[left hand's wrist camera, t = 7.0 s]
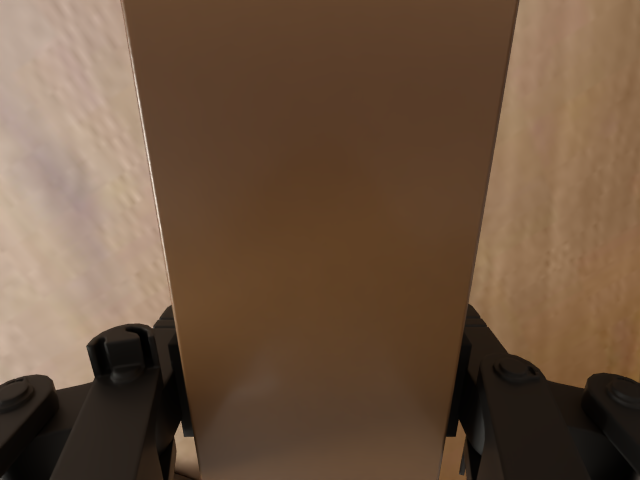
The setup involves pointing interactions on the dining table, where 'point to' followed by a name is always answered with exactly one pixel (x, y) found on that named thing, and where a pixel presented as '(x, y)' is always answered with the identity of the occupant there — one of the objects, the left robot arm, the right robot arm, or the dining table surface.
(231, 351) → the beam
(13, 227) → the dining table surface
